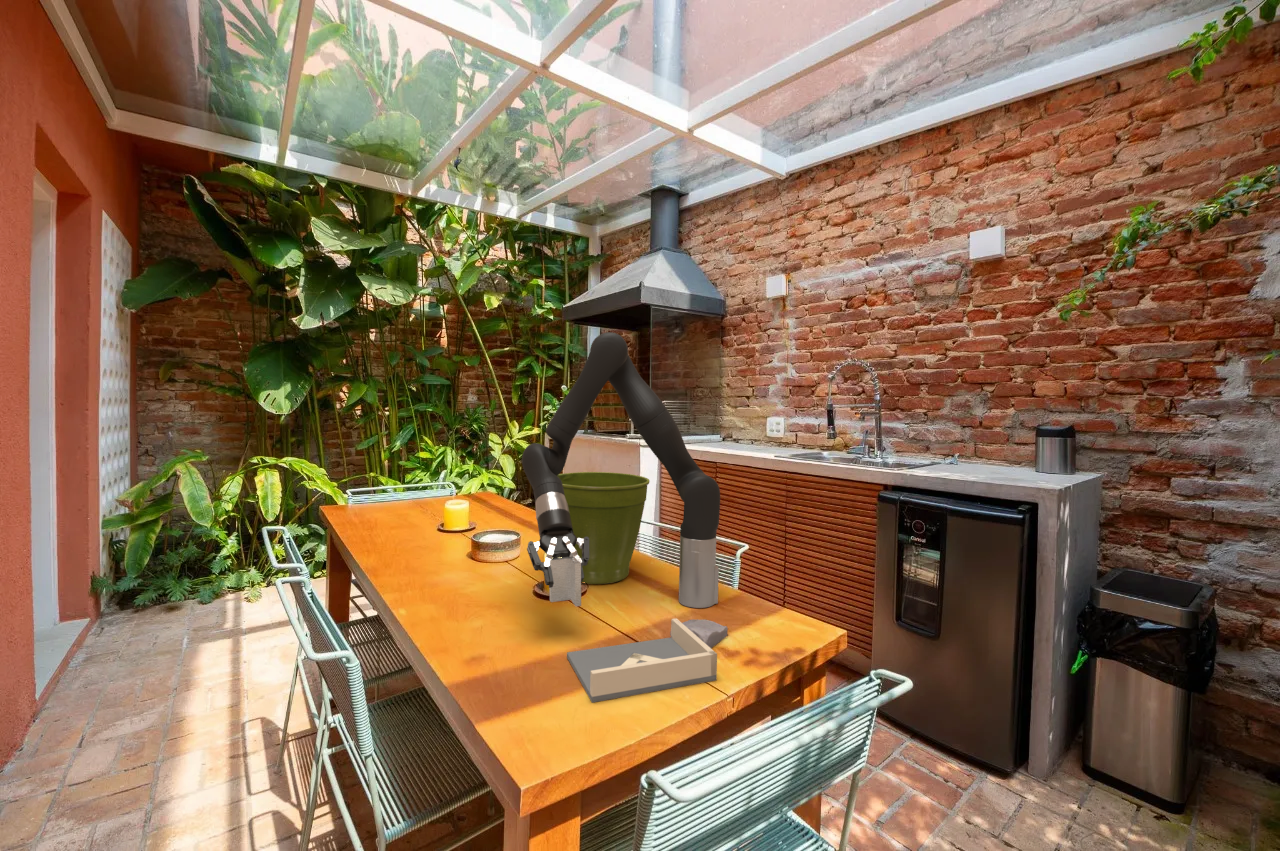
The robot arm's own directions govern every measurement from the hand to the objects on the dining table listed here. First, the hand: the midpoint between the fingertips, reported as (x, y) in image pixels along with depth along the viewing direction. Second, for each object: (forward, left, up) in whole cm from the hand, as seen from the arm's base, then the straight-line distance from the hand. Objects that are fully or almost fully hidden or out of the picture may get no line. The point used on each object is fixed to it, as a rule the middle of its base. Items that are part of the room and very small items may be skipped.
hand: (565, 583), depth 120 cm
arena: (-11, +16, -13) cm, 23 cm away
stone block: (-28, +7, -14) cm, 32 cm away
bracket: (0, -1, -4) cm, 4 cm away
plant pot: (-20, -42, -13) cm, 49 cm away
